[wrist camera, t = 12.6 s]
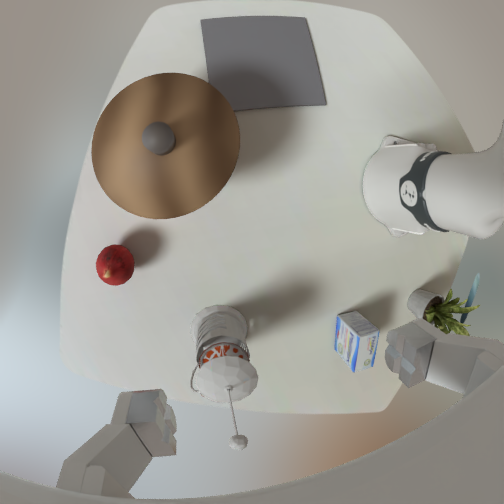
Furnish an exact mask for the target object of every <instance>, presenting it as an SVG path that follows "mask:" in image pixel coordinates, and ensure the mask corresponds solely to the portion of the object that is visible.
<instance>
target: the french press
mask: <svg viewBox="0 0 504 504" xmlns="http://www.w3.org/2000/svg"><path fill="white" fill-rule="evenodd" d="M247 329H248V327H247V324H246V320H245V318H244V317H243V316H242V315H241V313H240V312H239V311H238V310H236V309H234V308H232V307H230V306H224V305H214V306H210V307H207V308H204V309H203V310H202V311H200V312H199V313H198V314H196V316H195V318H194V319H193V321H192V323H191V330H190V334H191V336H192V339H193V342H194V343H195V344H196V353H197V362H198V364H197V365H196V367H195V369H194V370H193V373H192V377H191V389H192V390H193V392H200V394H201V395H202V396H203V397H206V398H207V399H209V400H212V401H215V402H218V403H230V406H231V411H232V417H233V422H234V427H235V433H236V435H235V436H233V437H231V438H230V439H229V445H230V446H231V447H232V448H233V449H235V450H243V449H244V448H245V447H246V446H247V442H248V440H247V438H246V437H245V436H244V435H238V432H237V427H236V422H235V417H234V413H233V407H232V402H235V401H239V400H242V399H243V398H245V397H247V396H248V395H250V394H251V393H252V391H253V390H254V389H255V388H256V386H257V382H258V375H257V372H256V369H255V368H254V367H253V366H252V365H251V364H250V363H249V361H250V360H249V357H250V354H249V351H248V347H247V344H246V341H245V338H246V334H247ZM243 343H244V346H243ZM241 344H242V346H241V347H240V345H241ZM242 347H243V348H242ZM246 347H247V352H246ZM244 348H245V350H244ZM198 365H199V368H200V369H199V371H198V372H197V374H196V382H195V384H196V386H197V388H198V391H197V390H194V389H193V387H192V379H193V376H194V372H195V370H196V368H197V367H198Z"/></svg>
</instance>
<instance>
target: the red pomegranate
mask: <svg viewBox="0 0 504 504" xmlns="http://www.w3.org/2000/svg"><path fill="white" fill-rule="evenodd" d="M96 269H97V273H98V275H99V277H100V278H101V279H102V280H103V281H104V282H105V283H107V284H109V285H121V284H124V283H125V282H126V281H128V280H129V279H130V278H131V277H132V274H133V272H134V259H133V256H132V254H131V253H130V252H129V250H128V249H126V248H125V247H123V246H122V245H110V246H108V247H105V248H104V249H103V250H102V251H101V253H100V254H99V255H98V258H97V262H96Z"/></svg>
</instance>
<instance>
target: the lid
mask: <svg viewBox="0 0 504 504" xmlns="http://www.w3.org/2000/svg"><path fill="white" fill-rule="evenodd" d="M239 149H240V133H239V126H238V122H237V118H236V116H235V113H234V111H233V109H232V107H231V105H230V104H229V102H228V101H227V100H226V98H225V97H224V96H223V95H222V94H221V93H220V92H219V91H218V90H217V89H216V88H215V87H213V86H212V85H211V84H209V83H207V82H206V81H204V80H202V79H200V78H197V77H194V76H191V75H187V74H181V73H161V74H155V75H151V76H148V77H145V78H142V79H140V80H138V81H136V82H134V83H132V84H130V85H129V86H127V87H126V88H125V89H123V90H122V91H121V92H119V93H118V94H117V95H116V96H115V97H114V98H113V99H112V100H111V102H110V103H109V104H108V105H107V106H106V108H105V110H104V111H103V113H102V114H101V116H100V118H99V120H98V123H97V125H96V128H95V131H94V135H93V140H92V163H93V168H94V172H95V174H96V177H97V180H98V182H99V184H100V186H101V187H102V189H103V190H104V192H105V193H106V194H107V196H108V197H109V198H110V199H111V200H112V201H113V202H114V203H116V204H117V205H118V206H119V207H121V208H123V209H124V210H126V211H128V212H130V213H132V214H135V215H137V216H141V217H145V218H151V219H169V218H176V217H179V216H183V215H186V214H188V213H191V212H193V211H195V210H197V209H199V208H201V207H202V206H204V205H205V204H207V203H208V202H209V201H211V200H212V199H213V198H214V197H215V196H216V195H217V194H218V193H219V192H220V191H221V190H222V188H223V187H224V186H225V185H226V183H227V181H228V180H229V178H230V177H231V175H232V172H233V170H234V168H235V165H236V162H237V159H238V154H239Z"/></svg>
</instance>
